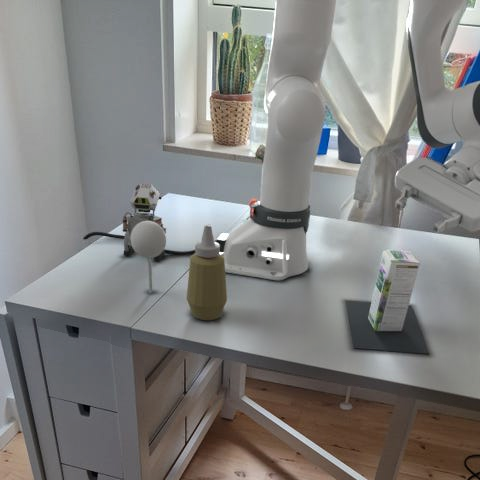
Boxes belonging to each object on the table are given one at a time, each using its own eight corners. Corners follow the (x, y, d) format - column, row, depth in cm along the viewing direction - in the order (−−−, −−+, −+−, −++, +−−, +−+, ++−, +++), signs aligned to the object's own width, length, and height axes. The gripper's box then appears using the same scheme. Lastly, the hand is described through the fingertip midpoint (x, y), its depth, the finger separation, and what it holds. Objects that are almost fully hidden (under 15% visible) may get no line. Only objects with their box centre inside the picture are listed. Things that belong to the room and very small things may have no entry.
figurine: (173, 247, 141) (171, 184, 132) (156, 264, 132) (153, 198, 123) (138, 242, 143) (134, 180, 133) (120, 259, 134) (114, 193, 125)
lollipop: (173, 288, 123) (171, 219, 114) (158, 302, 118) (156, 230, 108) (143, 282, 125) (139, 213, 115) (128, 295, 119) (122, 224, 110)
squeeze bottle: (221, 326, 111) (224, 235, 100) (181, 320, 112) (180, 230, 101) (230, 308, 117) (234, 220, 106) (192, 302, 118) (192, 215, 107)
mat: (353, 348, 107) (354, 347, 107) (346, 301, 122) (346, 300, 122) (428, 354, 106) (428, 353, 106) (410, 306, 122) (411, 305, 122)
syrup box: (366, 318, 116) (381, 249, 107) (394, 318, 117) (411, 249, 108) (374, 331, 112) (390, 261, 103) (403, 332, 112) (421, 261, 103)
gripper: (423, 140, 113) (376, 180, 111) (512, 186, 105) (463, 230, 102) (419, 166, 119) (374, 205, 116) (503, 212, 110) (456, 254, 108)
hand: (416, 217), depth 109 cm, fingers open, 8 cm apart
